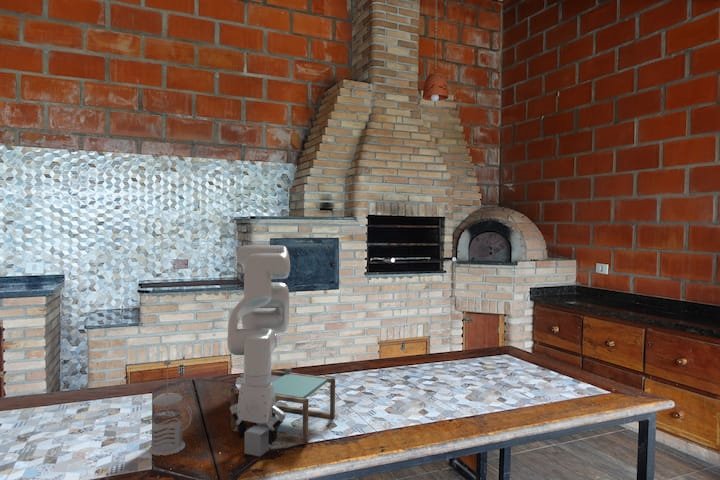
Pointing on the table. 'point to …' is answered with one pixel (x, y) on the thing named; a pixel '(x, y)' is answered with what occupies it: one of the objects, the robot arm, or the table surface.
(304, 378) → the hatch door
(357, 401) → the table surface
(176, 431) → the french press
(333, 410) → the stand
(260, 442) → the smooth gray block
